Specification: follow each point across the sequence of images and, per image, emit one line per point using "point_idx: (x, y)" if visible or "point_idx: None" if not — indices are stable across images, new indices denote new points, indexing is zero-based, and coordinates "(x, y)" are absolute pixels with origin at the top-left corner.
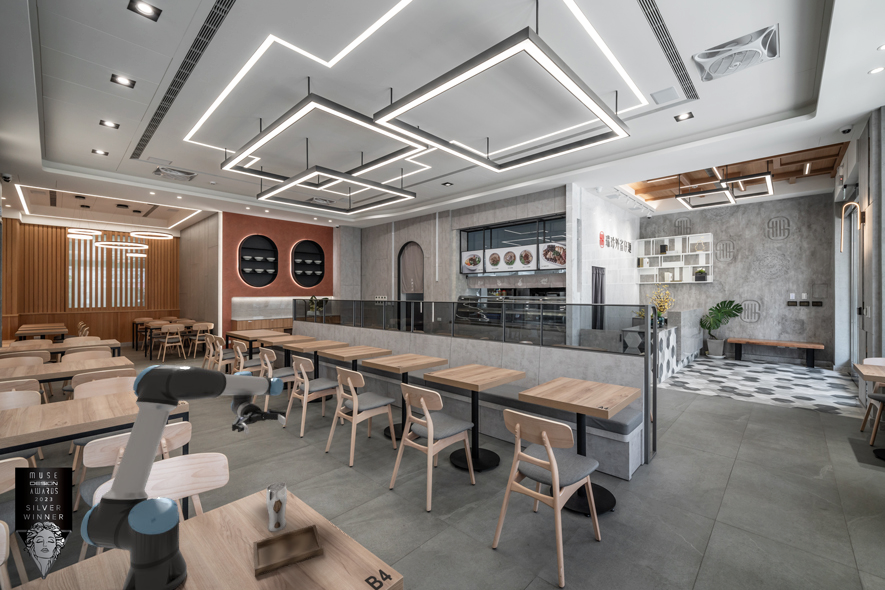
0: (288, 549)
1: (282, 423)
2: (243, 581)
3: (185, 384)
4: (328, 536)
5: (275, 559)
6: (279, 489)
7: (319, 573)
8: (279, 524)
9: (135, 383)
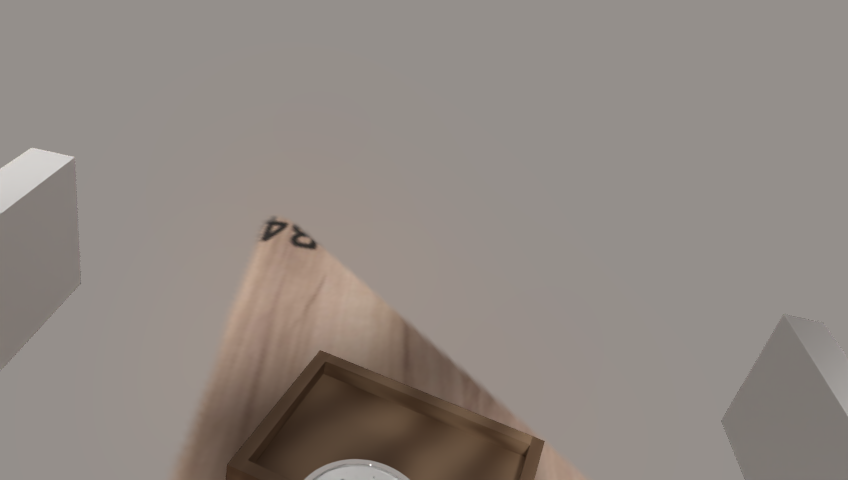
0: (394, 460)
1: (34, 315)
2: (574, 471)
3: None
4: (227, 416)
5: (457, 455)
6: (371, 463)
7: (378, 331)
8: None
9: None
